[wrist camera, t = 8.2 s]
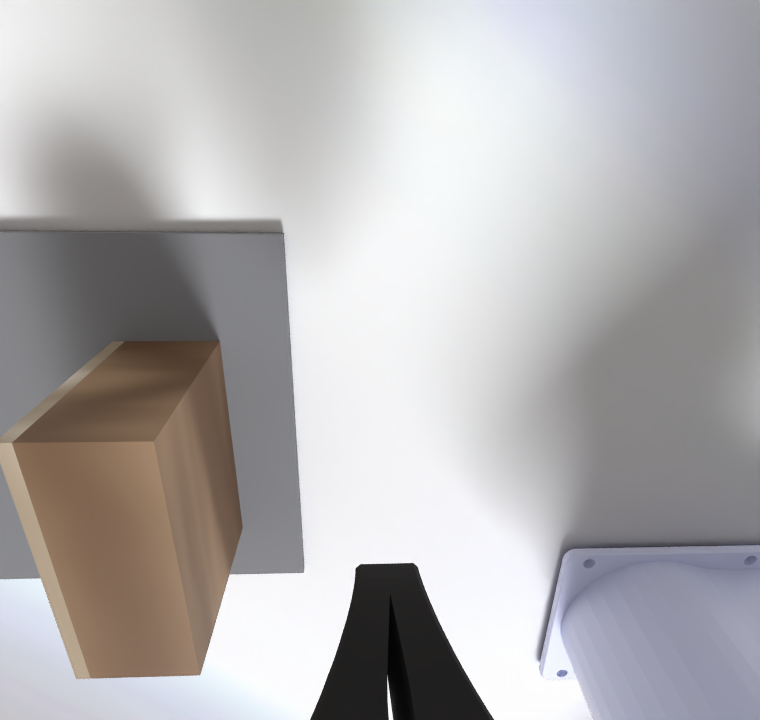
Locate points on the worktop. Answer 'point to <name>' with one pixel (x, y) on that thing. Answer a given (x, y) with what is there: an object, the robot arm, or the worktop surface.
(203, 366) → the brown wooden block
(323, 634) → the worktop surface
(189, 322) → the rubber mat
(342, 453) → the worktop surface
